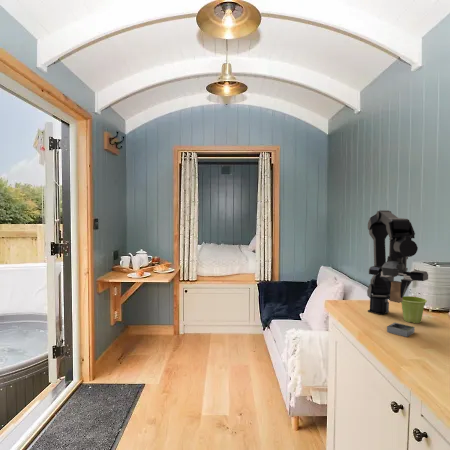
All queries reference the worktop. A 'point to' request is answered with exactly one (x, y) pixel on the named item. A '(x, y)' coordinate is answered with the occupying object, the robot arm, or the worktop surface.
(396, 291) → the brown wooden block
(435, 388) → the worktop surface
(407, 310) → the plant pot
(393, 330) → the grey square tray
